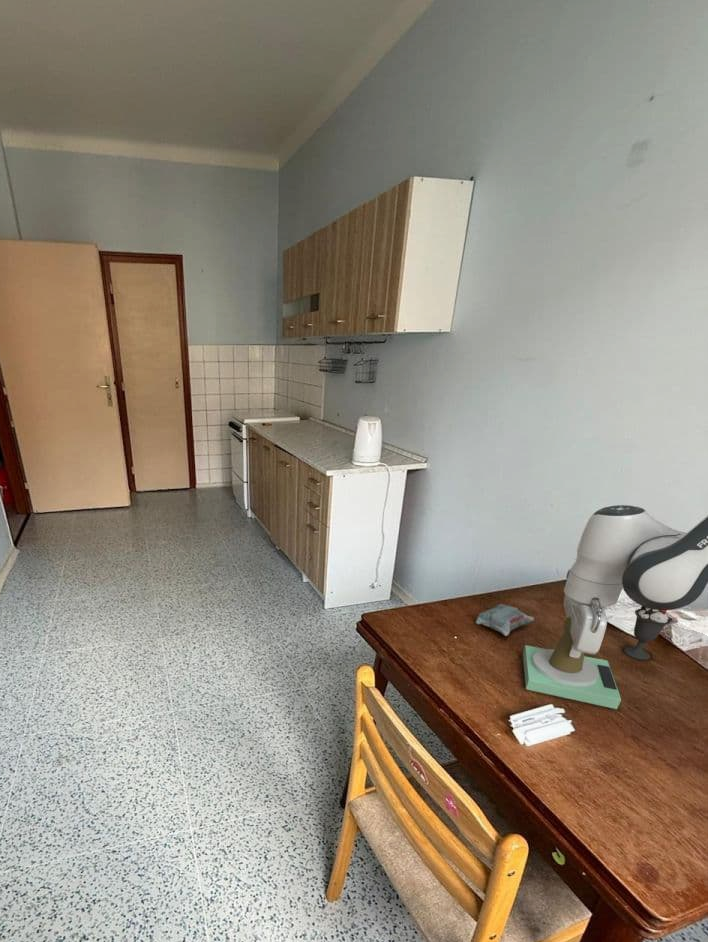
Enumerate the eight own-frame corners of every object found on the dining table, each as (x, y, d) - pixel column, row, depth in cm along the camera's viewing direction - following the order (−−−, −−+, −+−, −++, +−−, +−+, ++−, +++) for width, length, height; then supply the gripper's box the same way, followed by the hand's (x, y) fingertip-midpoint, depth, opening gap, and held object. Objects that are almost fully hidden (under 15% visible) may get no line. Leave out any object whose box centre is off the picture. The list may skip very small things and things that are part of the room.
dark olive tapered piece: (589, 671, 97) (606, 625, 92) (563, 674, 96) (579, 628, 91) (567, 654, 102) (583, 610, 97) (542, 657, 102) (556, 613, 97)
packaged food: (531, 627, 119) (536, 610, 117) (504, 642, 114) (508, 624, 112) (499, 614, 126) (503, 597, 124) (472, 627, 120) (475, 610, 118)
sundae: (656, 665, 105) (683, 606, 98) (619, 656, 108) (643, 598, 101) (654, 651, 109) (679, 593, 102) (619, 642, 113) (641, 586, 106)
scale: (603, 669, 104) (609, 656, 102) (617, 709, 92) (623, 695, 91) (522, 654, 109) (526, 641, 108) (525, 689, 98) (529, 675, 97)
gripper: (623, 616, 82) (598, 680, 88) (602, 570, 98) (582, 627, 104) (581, 609, 84) (559, 672, 90) (567, 566, 100) (549, 622, 107)
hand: (571, 648), depth 98 cm, fingers closed on dark olive tapered piece, 4 cm apart
